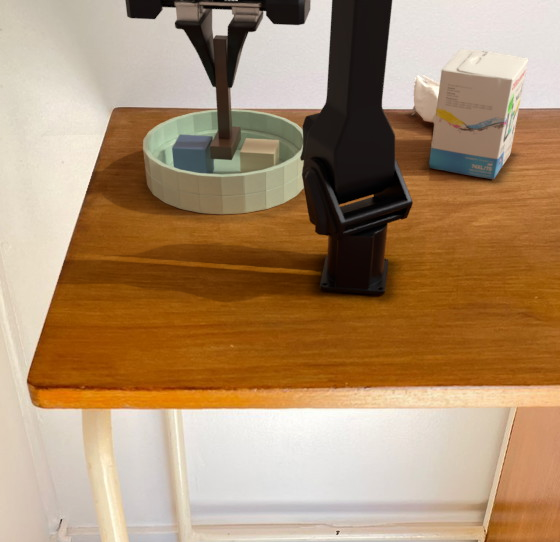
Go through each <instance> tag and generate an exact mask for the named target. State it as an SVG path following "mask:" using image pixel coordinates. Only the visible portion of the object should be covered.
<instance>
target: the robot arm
mask: <svg viewBox="0 0 560 542" xmlns="http://www.w3.org/2000/svg"><path fill="white" fill-rule="evenodd" d="M124 1H125V9H126V16H127V18H130V19H136V20H139V19H140V20H156V19H157V18H158V17H159V15H160V14H161V13H162V11H163V10H164V9H163V8H173V9H174V8H175V13H176V20H175V21H174V27H175V29H176V30H182V31H183V32H184V33H185V35H186V36H187V38H188V40H189V41H190V43H191V45H192V47H193V48H194V49H195V52H196V53H197V55H198V58H199V59H200V62H201V64H202V67H203V68H204V70H205V73H206V75H207V77H208V80H209V82H210V84H211V86H212V88H216V82H215V65H214V47H213V39H214V31H213V10H223V11H224V10H225V11H231V15H233V17H232V19H231V20H230V21H229V23H228V25H227V35H226V36H227V82H228V88H230V89H232V88H233V86H234V83H235V79H236V75H237V72H238V67H239V64H240V60H241V56H242V52H243V49H244V45H245V44H246V43H245V42H246V39H247V37H248V35H249V33H254V32H256V31H258V28H259V26H260V25H261V23H262V21H263V19H264V12H265V16H266V17H267V18H268V20H269V21H270V22H271V23H272V24H273V25H283V26H284V25H285V26H301V25H305V23H306V21H307V19H308V17H309V14H310V12H311V2H312V1H311V0H124ZM392 9H393V0H331V12H330V13H331V15H330V28H329V29H330V31H329V50H328V64H327V65H328V66H327V82H326V83H327V84H326V98H325V103H324V105H323V106H322V108H321V110H320V112H317V113H314V114H309V115H306V116H305V118H304V121H303V124H302V129H303V149H302V154H301V157H300V159H301V161H303V160H304V163H303V169H302V179H303V185H304V188H303V190H304V197H305V203H306V209H307V214H308V218H309V223H311V224H312V225H313V226H314V233H316V234H317V235H319V236H326V237H327V255H326V256H325V259H324V263H323V268H322V273H321V278H320V282H319V289H320V290H321V291H323V292H335V293H337V292H338V293H350V294H362V295H375V296H382V295H385V294H386V288H387V279H388V278H387V277H388V269H389V268H388V267H389V259H387V258H385V256H386V248H387V247H386V246H387V234H388V224H390V223H393V222H396V221H400V220H405V219H407V218H408V217H409V214H410V211H411V210H412V207H413V203H414V202H413V199H412V196H411V194H410V190H409V189H408V186H407V184H406V181H405V178H404V176H403V173H402V171H401V168H400V166H399V164H398V161H397V158H396V133H395V131H394V129H393V127H392V125H391V123H390V120H389V119H388V117H387V115H386V113H385V110H384V108H383V95H384V86H385V77H386V69H387V68H386V67H387V56H388V48H389V37H390V27H391V20H392V19H391V17H392ZM367 197H368V198H367ZM363 198H364V199H363ZM356 200H358V201H356ZM353 201H354V202H353ZM347 203H348V204H347ZM343 204H344V205H343Z"/></svg>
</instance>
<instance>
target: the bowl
mask: <svg viewBox="0 0 560 542" xmlns="http://www.w3.org/2000/svg"><path fill="white" fill-rule="evenodd" d="M231 114H232V126H234V127H241V140H240V143H239V145H238V147H237V149H236V152H235V154H234V156H233V158H232V160H221V159H214V171H213V173H212V174H206V173H196V172H191V171H186V170H180V169H178V168H175V167H174V164H173V153H172V147H173V145H174V144H175V142H176V140H177V139H178V137H179V135H180V134H181V135H199V136H212V137H213V139H214V137H215V135H216V133H217V131H218V120H217V109H208V110H202V111H194V112H190V113H186V114H182V115H179V116H174V117H172V118H170V119H168V120H167V119H166V120H165V121H163V122H161V123H158V124H157V125H156V126H153V128H152V129H150V130H149V131H148V132H147V134H146V135H145V136H144V138H143V140H142V153H143V161H144V168H145V179H146V186H147V188H148V189H149V191H150V192H151V194H152V196H153V197H155V198H156V199H158V200H160V201H161V202H163V203H164V204H166V205H169V206H171V207H174V208H177V209H180V210H184V211H187V212H192V213H193V212H194V213H198V214H208V215H209V214H210V215H239V214H248V213H253V212H259V211H265V210H268V209H271V208H275V207H277V206H281V205H283V204H285V203H287V202H289V201H291V200H292V199H294V198H295V197H298V195H299V194H300V193H301V192H303V190H304V185H303V179H302V169H303V163H304V160H303V161H301V159H300V157H301V154H302V149H303V127H301V126H299V125H298V123H296V122H293V120H290V119H288V118H286V117H283V116H279V115H277V114H273V113H269V112H265V111H264V112H263V111H259V110H251V109H238V108H237V109H236V108H235V109H234V108H231ZM246 138H252V139H269V140H279V165H276V166H273V167H270V168H267V169H264V170H259V171H253V172H247V173H241V171H240V151H241V148H242V146H243V144H244V141H245V139H246Z"/></svg>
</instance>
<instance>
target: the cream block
mask: <svg viewBox="0 0 560 542" xmlns="http://www.w3.org/2000/svg"><path fill="white" fill-rule="evenodd" d="M276 165H279V140H269V139H252V138H246V139H245V141H244V144H243V146H242V148H241V151H240V171H241V173H247V172H253V171H259V170H264V169H267V168H270V167H273V166H276Z"/></svg>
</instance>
